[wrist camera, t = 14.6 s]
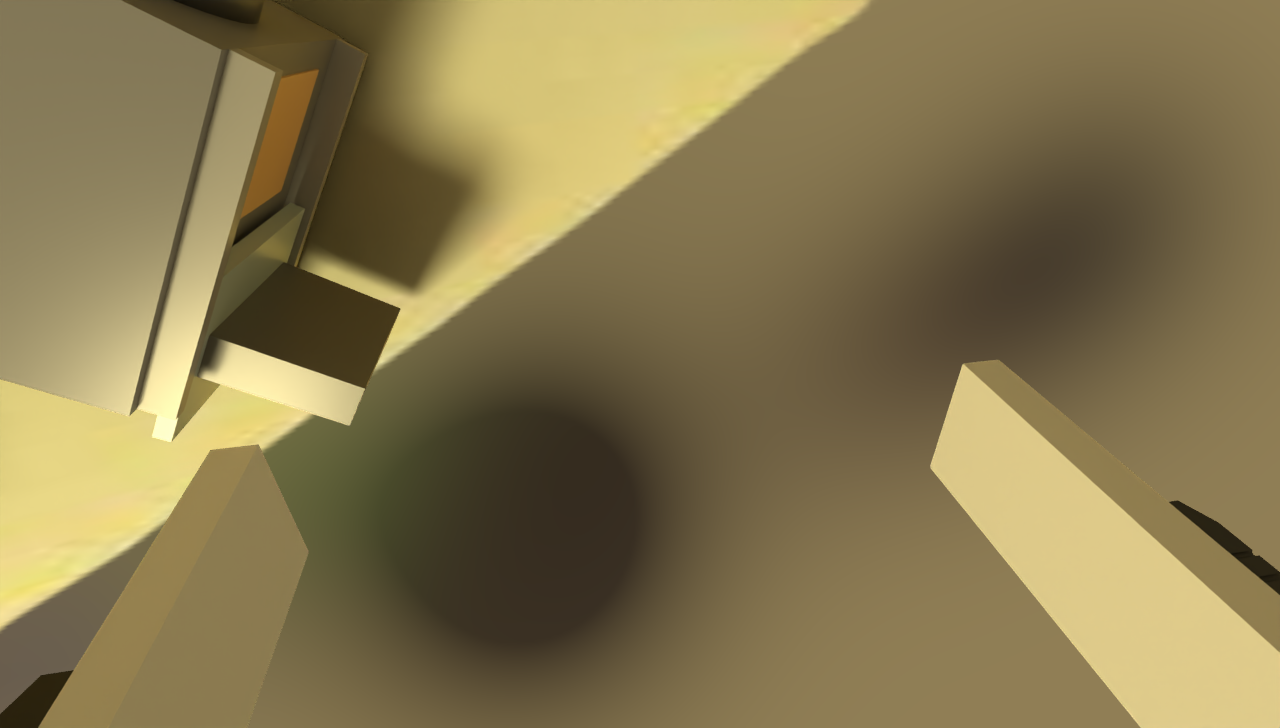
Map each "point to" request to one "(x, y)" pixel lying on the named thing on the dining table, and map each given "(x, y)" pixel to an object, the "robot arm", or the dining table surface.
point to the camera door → (286, 332)
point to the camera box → (148, 178)
